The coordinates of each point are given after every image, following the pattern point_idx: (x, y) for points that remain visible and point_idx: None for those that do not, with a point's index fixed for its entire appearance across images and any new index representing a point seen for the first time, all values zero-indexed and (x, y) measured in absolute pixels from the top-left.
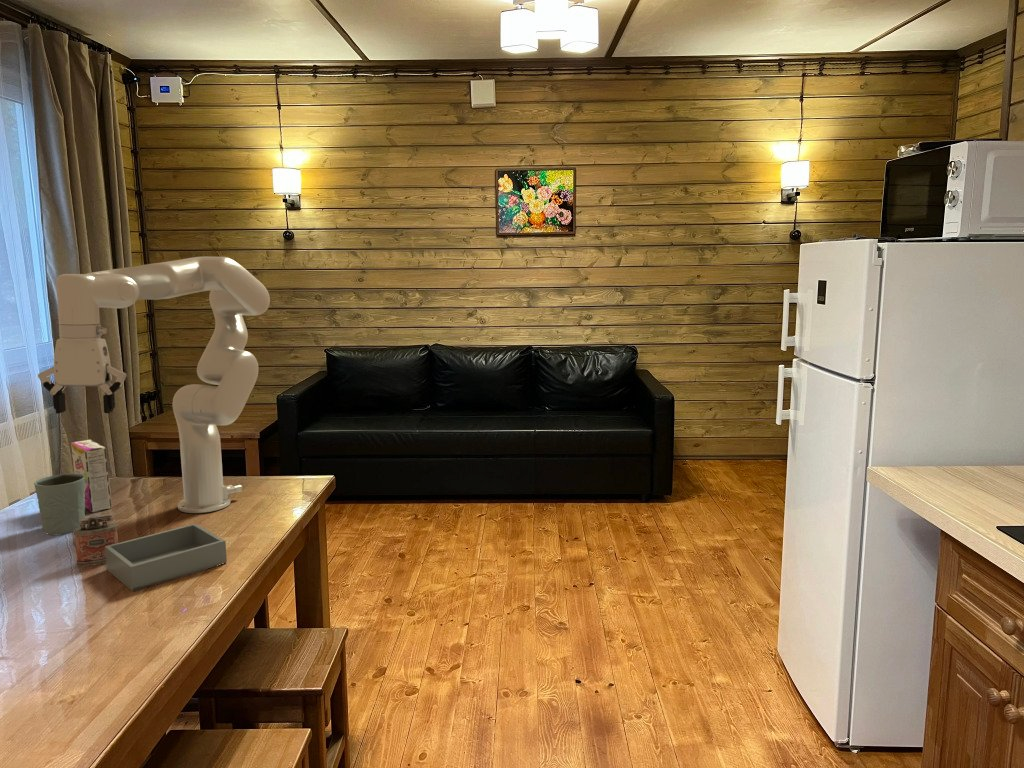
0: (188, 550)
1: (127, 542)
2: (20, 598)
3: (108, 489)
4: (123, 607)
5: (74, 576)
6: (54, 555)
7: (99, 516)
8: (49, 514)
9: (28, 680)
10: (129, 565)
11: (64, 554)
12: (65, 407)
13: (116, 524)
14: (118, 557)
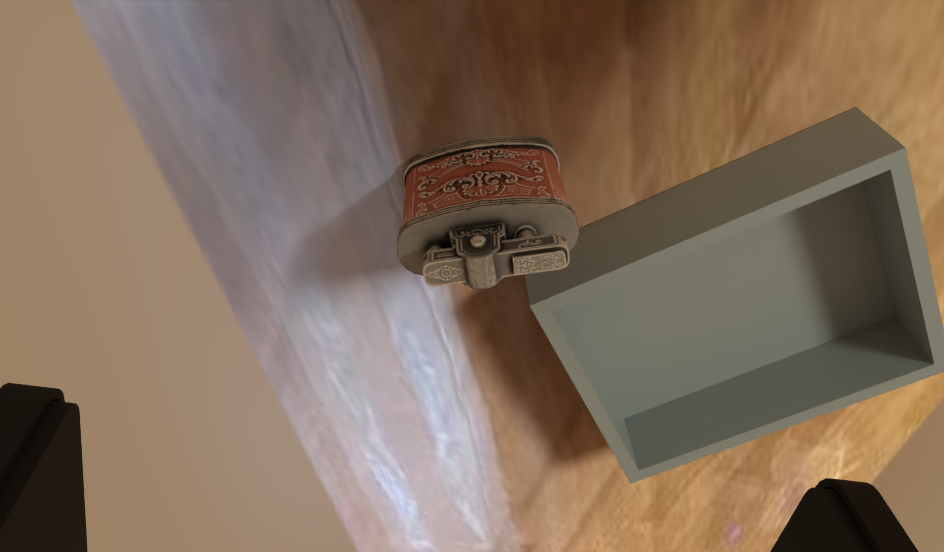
0: (812, 414)
1: (611, 285)
2: (304, 385)
3: None
4: (594, 493)
5: (421, 278)
6: (276, 40)
7: (508, 251)
8: None
9: None
10: (625, 472)
11: (317, 42)
12: (54, 449)
13: (574, 226)
14: (588, 409)
